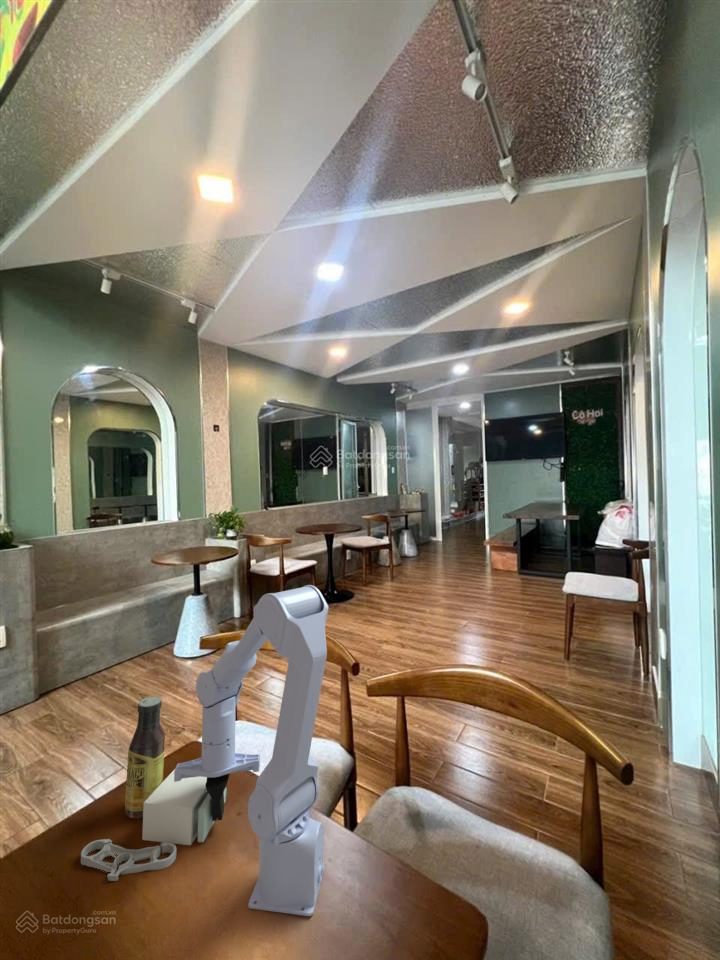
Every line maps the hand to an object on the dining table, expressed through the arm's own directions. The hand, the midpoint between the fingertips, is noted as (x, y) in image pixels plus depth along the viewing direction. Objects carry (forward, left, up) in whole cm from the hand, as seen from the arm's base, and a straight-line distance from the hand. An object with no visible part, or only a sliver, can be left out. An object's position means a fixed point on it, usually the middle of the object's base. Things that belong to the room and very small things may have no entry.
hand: (217, 816), depth 69 cm
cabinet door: (+2, -2, -2) cm, 3 cm away
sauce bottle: (+16, -3, -2) cm, 17 cm away
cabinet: (+7, -1, -2) cm, 8 cm away
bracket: (+12, +8, -3) cm, 14 cm away
